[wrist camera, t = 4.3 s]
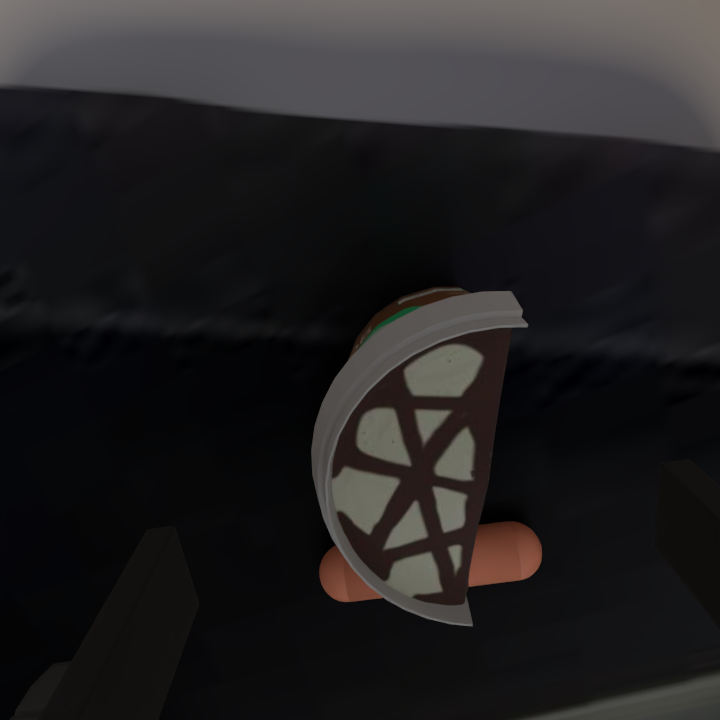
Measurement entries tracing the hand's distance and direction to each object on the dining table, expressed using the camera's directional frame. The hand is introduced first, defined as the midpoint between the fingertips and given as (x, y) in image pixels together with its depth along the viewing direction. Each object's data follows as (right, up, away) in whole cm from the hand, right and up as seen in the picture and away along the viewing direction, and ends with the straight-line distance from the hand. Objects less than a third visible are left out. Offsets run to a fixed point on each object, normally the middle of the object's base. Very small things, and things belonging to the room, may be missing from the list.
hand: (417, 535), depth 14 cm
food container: (0, +4, +12) cm, 13 cm away
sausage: (+2, -6, +15) cm, 17 cm away
